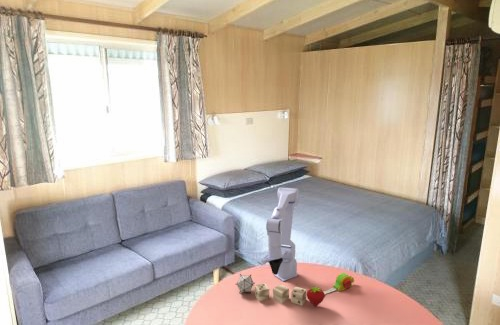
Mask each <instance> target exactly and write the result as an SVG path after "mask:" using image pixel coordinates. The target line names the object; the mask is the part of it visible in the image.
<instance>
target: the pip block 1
mask: <svg viewBox="0 0 500 325" xmlns="http://www.w3.org/2000/svg"><path fill="white" fill-rule="evenodd" d="M254 296H255V297H256V300H257V301H258V302H262V301H267V300H270V288H269V286H268V285H267V284H266V282H263V283H259V284H254Z"/></svg>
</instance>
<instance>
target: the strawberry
mask: <svg viewBox="0 0 500 325" xmlns="http://www.w3.org/2000/svg"><path fill="white" fill-rule="evenodd" d="M325 295H326V294H324V291H323V290H322V289H321V288H319V286H318V287H316V285H314V286H313V287H309V289H308V290H306V299H307V300H308V302H310V304H311V305H312V306H313V307H317V306H319V305H320V304H321V303H323V301H324V299H325V297H326V296H325Z"/></svg>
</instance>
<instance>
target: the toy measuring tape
mask: <svg viewBox="0 0 500 325" xmlns="http://www.w3.org/2000/svg"><path fill="white" fill-rule="evenodd" d="M354 282H355V278H354V277H353V276H352V275H349V274H347V273H345V272H341V273H339V274H337V275H336V278H335V283H334V284H333V286H332V288H329V289H327V290H324V291H323V292H324V294H325V295H327V294H329V293H332V292H335V291H336V292H340V291H344V290H347V289H349V288H350V287H352V286H353V283H354Z"/></svg>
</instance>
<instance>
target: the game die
mask: <svg viewBox="0 0 500 325" xmlns="http://www.w3.org/2000/svg"><path fill="white" fill-rule="evenodd" d="M254 285H256V282H254V281H253V279H252V274H249V275H244V274H243V275H242V274H241V273H239V279H238V281H236V283H235V286H237V287H238V290H239V294H240V293H249V294H252V292H251V291H252V288H253V286H254Z"/></svg>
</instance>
